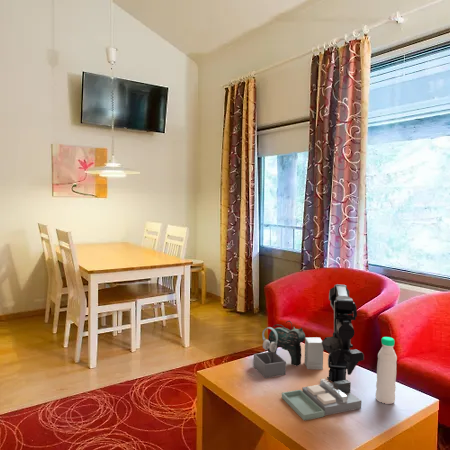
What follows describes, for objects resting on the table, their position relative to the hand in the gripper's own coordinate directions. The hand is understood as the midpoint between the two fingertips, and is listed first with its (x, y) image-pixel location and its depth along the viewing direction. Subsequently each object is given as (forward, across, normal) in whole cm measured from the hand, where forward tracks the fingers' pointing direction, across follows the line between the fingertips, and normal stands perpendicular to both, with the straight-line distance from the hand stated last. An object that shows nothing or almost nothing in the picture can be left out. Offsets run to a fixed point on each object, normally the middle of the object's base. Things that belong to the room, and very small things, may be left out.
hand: (341, 369), depth 158 cm
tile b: (+9, +4, -9) cm, 13 cm away
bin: (+12, 0, -18) cm, 21 cm away
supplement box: (+12, -30, +6) cm, 33 cm away
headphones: (+12, -32, -16) cm, 38 cm away
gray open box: (+12, -32, -16) cm, 37 cm away
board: (+12, 0, -5) cm, 13 cm away
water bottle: (+12, +6, +16) cm, 21 cm away
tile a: (+9, -3, -9) cm, 13 cm away
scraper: (+9, 0, -1) cm, 9 cm away
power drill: (+12, -40, -4) cm, 42 cm away
